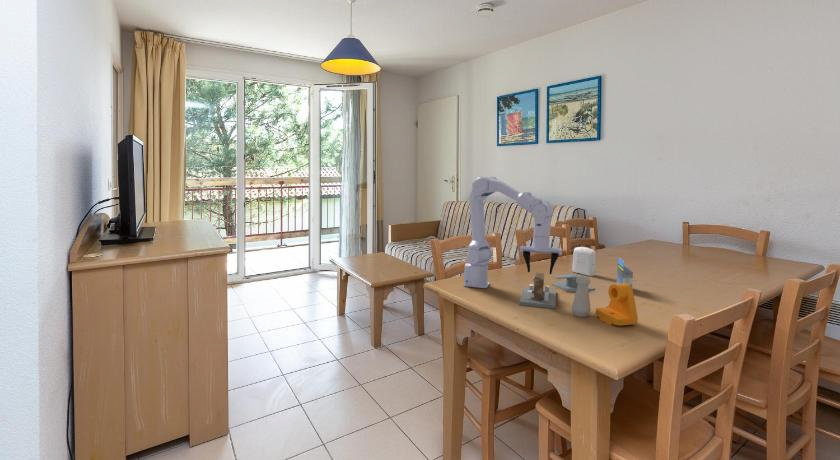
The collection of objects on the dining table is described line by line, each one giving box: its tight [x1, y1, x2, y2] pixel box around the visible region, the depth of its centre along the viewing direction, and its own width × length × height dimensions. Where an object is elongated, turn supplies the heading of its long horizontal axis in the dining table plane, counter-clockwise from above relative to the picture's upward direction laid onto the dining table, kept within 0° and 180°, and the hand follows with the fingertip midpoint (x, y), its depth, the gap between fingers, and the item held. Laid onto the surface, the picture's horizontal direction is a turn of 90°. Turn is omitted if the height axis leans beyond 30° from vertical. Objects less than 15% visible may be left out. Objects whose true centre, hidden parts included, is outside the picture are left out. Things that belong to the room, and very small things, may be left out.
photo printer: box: [571, 246, 597, 277], centre depth 192 cm, size 10×4×12 cm, turn 36°
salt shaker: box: [571, 275, 591, 318], centre depth 137 cm, size 6×6×13 cm
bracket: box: [595, 283, 639, 326], centre depth 132 cm, size 11×7×12 cm, turn 15°
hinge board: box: [519, 283, 557, 309], centre depth 155 cm, size 12×20×4 cm, turn 162°
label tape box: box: [616, 257, 634, 288], centre depth 167 cm, size 9×4×12 cm, turn 168°
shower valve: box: [551, 273, 596, 293], centre depth 170 cm, size 12×6×15 cm
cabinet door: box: [532, 272, 545, 301], centre depth 154 cm, size 4×12×7 cm, turn 162°
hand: (539, 272), depth 154 cm, fingers open, 7 cm apart
